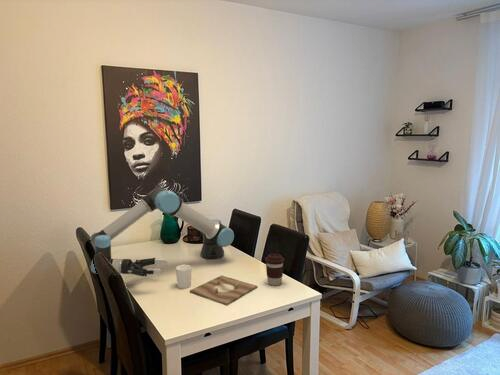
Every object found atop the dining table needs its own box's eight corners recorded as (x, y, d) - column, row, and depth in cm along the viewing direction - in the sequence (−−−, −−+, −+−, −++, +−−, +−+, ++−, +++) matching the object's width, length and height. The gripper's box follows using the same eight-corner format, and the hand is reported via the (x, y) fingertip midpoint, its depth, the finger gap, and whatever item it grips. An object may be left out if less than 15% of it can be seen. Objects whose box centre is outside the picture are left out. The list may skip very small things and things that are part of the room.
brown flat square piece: (221, 277, 203) (221, 271, 203) (257, 287, 189) (257, 282, 189) (189, 292, 184) (189, 286, 184) (227, 305, 170) (227, 299, 170)
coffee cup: (286, 280, 198) (286, 253, 196) (281, 288, 189) (281, 259, 186) (268, 278, 201) (268, 251, 199) (262, 285, 192) (262, 257, 190)
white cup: (179, 290, 187) (178, 271, 185) (174, 284, 194) (174, 266, 192) (194, 287, 190) (193, 268, 189) (189, 281, 197) (188, 263, 196)
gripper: (131, 264, 204) (169, 265, 203) (113, 283, 179) (157, 283, 179) (130, 251, 203) (169, 252, 202) (113, 268, 178) (157, 268, 178)
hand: (164, 266), depth 190 cm, fingers open, 13 cm apart
